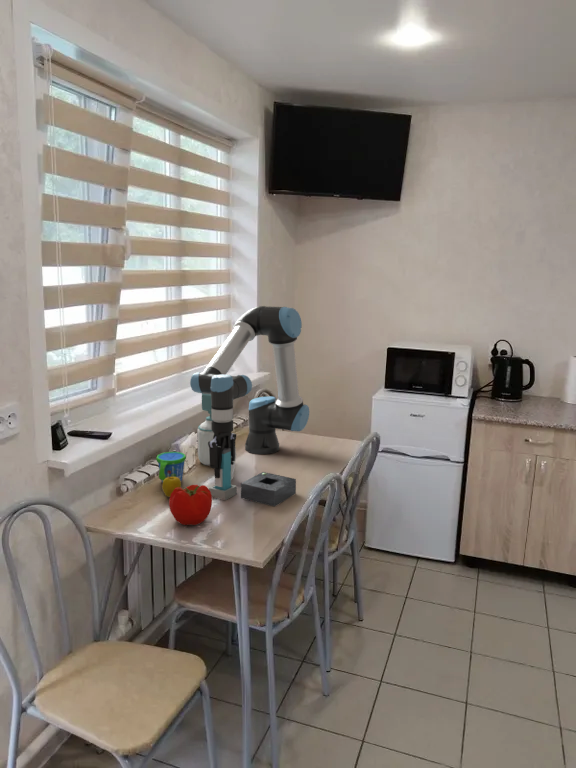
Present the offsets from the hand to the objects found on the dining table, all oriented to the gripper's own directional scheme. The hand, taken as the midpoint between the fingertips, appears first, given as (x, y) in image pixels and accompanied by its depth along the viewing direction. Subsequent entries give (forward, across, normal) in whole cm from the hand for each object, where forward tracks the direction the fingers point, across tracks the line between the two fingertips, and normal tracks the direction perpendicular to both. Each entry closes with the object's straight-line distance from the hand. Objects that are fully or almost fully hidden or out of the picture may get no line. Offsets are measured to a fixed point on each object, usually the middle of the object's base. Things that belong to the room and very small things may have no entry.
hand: (223, 483), depth 214 cm
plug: (+4, 0, 0) cm, 4 cm away
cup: (+4, -14, -10) cm, 18 cm away
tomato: (+4, +23, +5) cm, 24 cm away
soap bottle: (+4, -26, -25) cm, 36 cm away
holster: (+4, 0, 0) cm, 4 cm away
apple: (+4, +11, -14) cm, 18 cm away
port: (+4, -8, +14) cm, 17 cm away
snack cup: (+4, 0, -24) cm, 24 cm away
